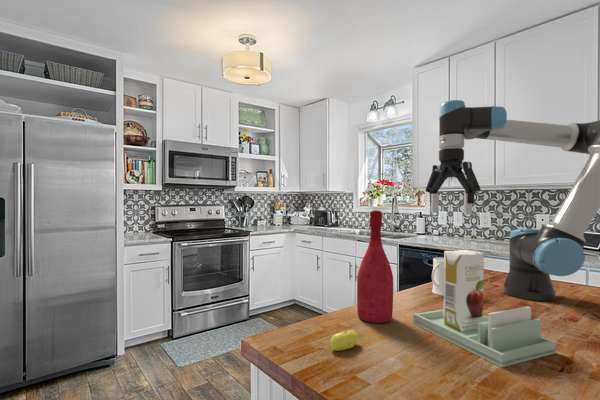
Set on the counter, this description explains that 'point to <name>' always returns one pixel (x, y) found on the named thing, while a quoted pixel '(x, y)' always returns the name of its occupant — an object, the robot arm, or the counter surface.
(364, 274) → the wine bottle
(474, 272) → the juice carton
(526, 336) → the dish rack
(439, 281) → the mug
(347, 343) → the lemon
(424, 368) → the counter surface
